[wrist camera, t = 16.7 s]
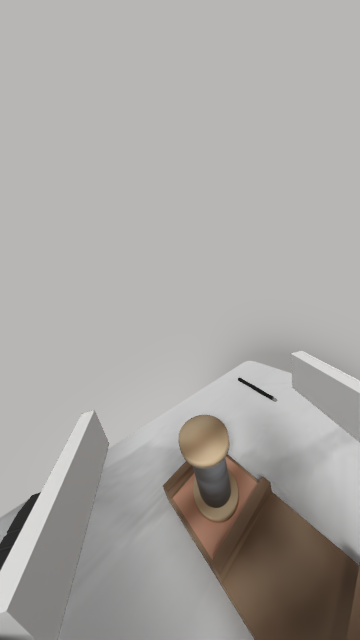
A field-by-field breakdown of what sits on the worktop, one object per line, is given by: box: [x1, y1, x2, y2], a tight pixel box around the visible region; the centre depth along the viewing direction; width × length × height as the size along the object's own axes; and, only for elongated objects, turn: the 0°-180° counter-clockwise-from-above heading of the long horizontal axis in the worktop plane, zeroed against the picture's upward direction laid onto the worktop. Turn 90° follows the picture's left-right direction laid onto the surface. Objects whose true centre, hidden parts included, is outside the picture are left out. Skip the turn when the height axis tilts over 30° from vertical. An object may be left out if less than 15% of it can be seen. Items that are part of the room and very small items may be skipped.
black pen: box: [238, 378, 277, 402], centre depth 49 cm, size 12×1×1 cm, turn 28°
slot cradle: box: [163, 455, 360, 640], centre depth 24 cm, size 23×12×3 cm, turn 38°
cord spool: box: [179, 415, 239, 523], centre depth 26 cm, size 7×7×12 cm
